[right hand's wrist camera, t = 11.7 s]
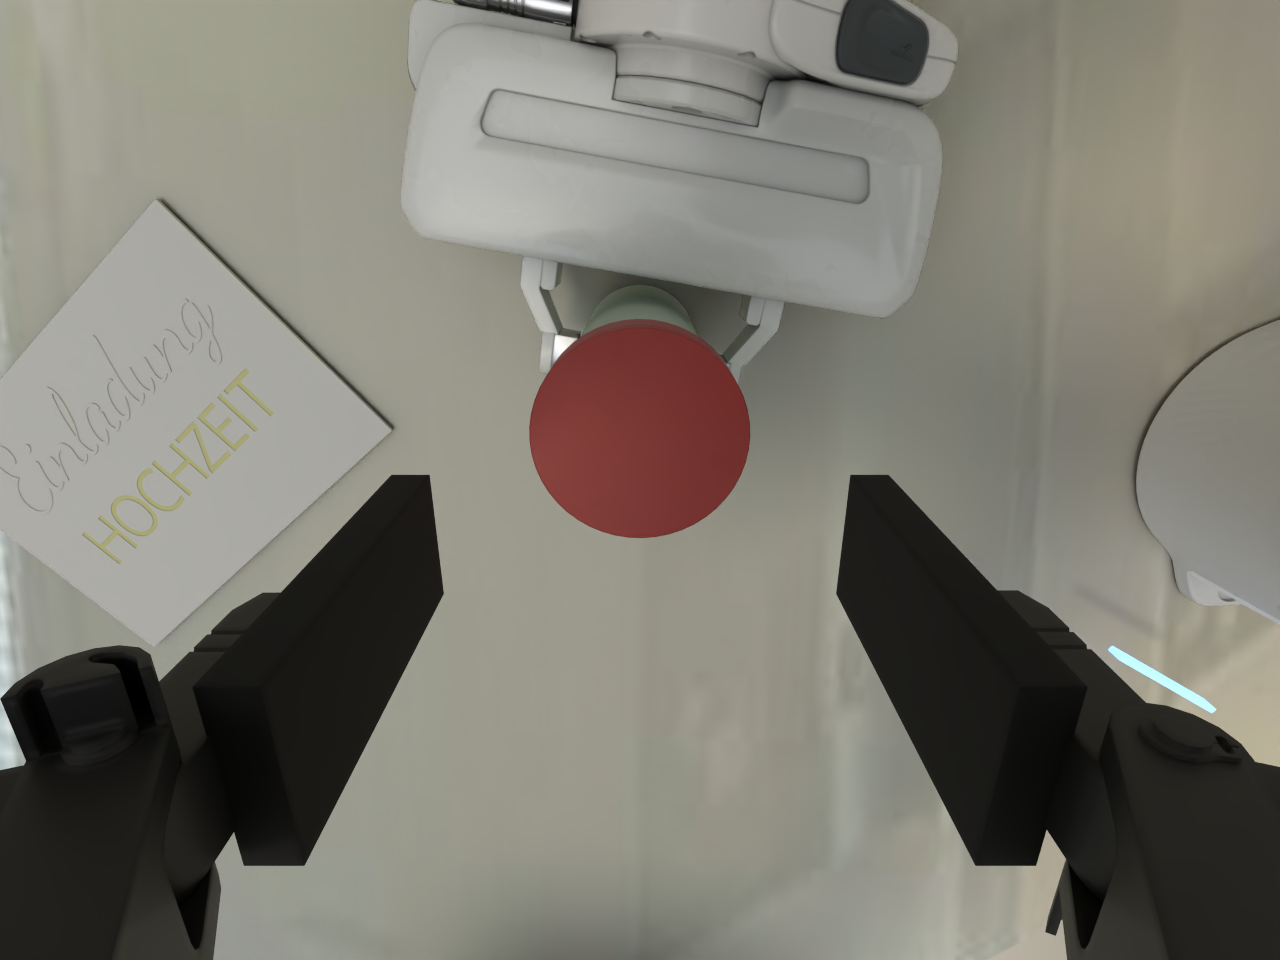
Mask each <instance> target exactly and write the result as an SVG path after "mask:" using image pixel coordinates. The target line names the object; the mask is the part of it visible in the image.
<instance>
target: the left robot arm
mask: <svg viewBox="0 0 1280 960" xmlns="http://www.w3.org/2000/svg"><path fill="white" fill-rule="evenodd" d="M453 2H454V3H456V4H458V5H456V4H451V3H446V2H441V1H436V0H416V2H415V3H414V5H413V7H412V10H411V14H410V19H409V35H408V60H407V64H408V72H409V77H410V80H411V83H412V85H413V87H414V89H415V95H414V100H413V105H412V110H411V115H410V120H409V126H408V132H407V138H406V145H405V152H404V160H403V168H402V179H401V191H400V205H401V209H402V212H403V214H404V215H405V217H406V218H407V220H408V222H409V223H410V225H411V226H412V228H413V229H414V231H415V232H416V234H417V235H418V236H419V237H421V238H424V239H429V240H434V241H440V242H446V243H452V244H457V245H463V246H469V247H474V248H480V249H486V250H492V251H497V252H503V253H509V254H515V255H520V256H523V261H522V271H521V281H520V287H521V289H522V291H523V294H524V296H525V298H526V301H527V303H528V305H529V308H530V310H531V312H532V315H533V317H534V319H535V321H536V324H537V326H538V328H539V331H541V332H543V334H542V343H541V352H540V361H539V372H540V373H545V374H548V372H549V371H550V369H551V367H552V366H553V364H554V362H555V361H556V360H557V359H558V357H559V356H560V355H561V354H562V352H563V351H564V350H566V349H567V348H568V347H569V346H570V345H571V344H572V343H573V342H574V341H576V340H577V339H579V338H580V335H581V331H575V330H570V329H565V328H563V326H562V324H561V321H560V319H559V316H558V313H557V311H556V308H555V306H554V303H553V301H552V298H551V295H550V293H549V290H553V289H554V288H555V287H556V286H558V285H559V284H560V281H561V274H562V266H563V263H566V264H572V265H578V266H583V267H589V268H595V269H600V270H606V271H612V272H618V273H623V274H629V275H635V276H641V277H646V278H652V279H658V280H663V281H669V282H675V283H681V284H686V285H692V286H698V287H704V288H709V289H715V290H721V291H726V292H732V293H738V294H743V298H742V303H741V308H740V313H739V314H740V316H741V317H742V318H743V319H744V321H745V322H746V323H747V324H748V325H747V326H746V327H745V328H744V329H743V331H742V332H741V333H740V334H739V335H738V337H737V338H736V339H735V340H734V341H733V343H732V344H731V345H730V346H729V347H728V348H727V350H726V351H725V352H724V353H723V355H719V356H720V357H721V358H722V359H723V360H724V362H725V363H726V365H727V366H728V368H729V369H730V371H731V373H732V375H733V376H734V378H735V380H736V382H737V384H738V383H739V379H740V374H741V370H742V366H746V365H747V364H748V363H749V361H750V360H751V359H752V358H753V357H754V356H755V355H756V354H757V353H758V352H759V351H760V349H761V348H762V347H763V346H764V345H765V344H766V343H767V342H768V341H769V340H770V339H771V337H772V336H773V335H774V334H775V333H776V332H777V331H778V328H779V324H780V320H781V316H782V312H783V308H784V304H785V302H789V303H795V304H801V305H807V306H812V307H818V308H824V309H829V310H835V311H841V312H847V313H852V314H858V315H864V316H870V317H876V318H887V317H889V316H890V315H892V314H893V313H894V312H895V311H897V310H898V309H899V308H900V307H901V306H902V305H904V304H905V303H906V302H907V301H908V300H909V299H910V298H911V297H912V295H913V293H914V291H915V289H916V286H917V283H918V280H919V277H920V274H921V270H922V267H923V263H924V260H925V256H926V252H927V248H928V244H929V240H930V235H931V231H932V226H933V221H934V216H935V212H936V206H937V200H938V194H939V188H940V182H941V175H942V164H943V153H942V143H941V139H940V135H939V132H938V130H937V127H936V125H935V123H934V122H933V121H932V119H931V118H930V117H929V116H928V114H926V113H925V112H924V111H923V110H922V109H920V108H919V107H921V106H923V105H925V104H927V103H929V102H930V101H932V100H933V99H935V98H936V97H938V96H939V95H940V94H942V92H943V91H944V90H945V89H946V87H947V85H948V83H949V81H950V79H951V76H952V74H953V71H954V68H955V63H956V61H957V56H958V41H957V38H956V36H955V35H954V33H953V32H952V31H951V30H950V29H949V28H948V27H947V26H946V25H944V24H943V23H942V22H940V21H939V20H937V19H936V18H934V17H933V16H931V15H929V14H928V13H926V12H925V11H923V10H922V9H920V8H919V7H917V6H916V5H914V4H912V3H911V2H909V1H908V0H453ZM492 11H495V12H492ZM497 12H500V13H497ZM501 12H503V13H506V14H503V13H501ZM509 13H510V14H511V15H508V14H509ZM573 25H574V26H575V33H574V31H573ZM573 34H574V41H573ZM1136 493H1137V500H1138V504H1139V508H1140V511H1141V514H1142V517H1143V519H1144V521H1145V523H1146V525H1147V527H1148V529H1149V530H1150V532H1151V533H1152V534H1153V536H1154V537H1155V538H1156V539H1157V540H1158V541H1159V543H1160V544H1161V545H1162V546H1163V547H1164V548H1165V549H1166V551H1167V552H1168V553H1169V555H1170V557H1171V558H1172V561H1173V568H1174V574H1175V579H1176V583H1177V586H1178V589H1179V591H1180V593H1181V594H1182V595H1183V596H1184V597H1186V598H1188V599H1190V600H1192V601H1194V602H1195V603H1197V604H1200V605H1204V606H1225V605H1245V606H1247V607H1249V608H1250V609H1252V610H1254V611H1256V612H1257V613H1259V614H1261V615H1263V616H1264V617H1266V618H1268V619H1270V620H1272V621H1273V622H1275V623H1277V624H1279V625H1280V319H1279V320H1277V321H1274V322H1272V323H1269V324H1267V325H1264V326H1262V327H1259V328H1257V329H1254V330H1252V331H1250V332H1248V333H1246V334H1244V335H1242V336H1240V337H1238V338H1236V339H1234V340H1233V341H1231V342H1229V343H1227V344H1226V345H1224V346H1223V347H1221V348H1220V349H1218V350H1217V351H1215V352H1214V353H1212V354H1211V355H1210V356H1209V357H1207V358H1206V359H1205V360H1203V361H1202V362H1201V363H1200V364H1199V365H1198V366H1196V367H1195V368H1194V369H1193V370H1192V371H1191V372H1190V373H1189V374H1188V375H1187V376H1186V377H1185V378H1184V379H1183V380H1182V381H1181V382H1180V383H1179V384H1178V386H1177V387H1176V388H1175V389H1174V390H1173V392H1172V393H1171V394H1170V395H1169V397H1168V398H1167V399H1166V401H1165V402H1164V404H1163V405H1162V407H1161V408H1160V410H1159V411H1158V413H1157V415H1156V416H1155V418H1154V420H1153V422H1152V424H1151V426H1150V428H1149V430H1148V432H1147V435H1146V437H1145V439H1144V442H1143V445H1142V448H1141V452H1140V456H1139V460H1138V465H1137V473H1136ZM1108 650H1109V651H1110V652H1111V653H1112V654H1113V655H1114V656H1115V657H1116V658H1117V659H1119V660H1120V661H1122V662H1124V663H1125V664H1127V665H1129V666H1130V667H1132V668H1134V669H1136V670H1137V671H1139V672H1141V673H1143V674H1144V675H1146V676H1148V677H1150V678H1151V679H1153V680H1155V681H1157V682H1158V683H1160V684H1162V685H1164V686H1165V687H1167V688H1169V689H1171V690H1172V691H1174V692H1176V693H1178V694H1179V695H1181V696H1183V697H1185V698H1186V699H1188V700H1190V701H1191V702H1193V703H1195V704H1197V705H1198V706H1200V707H1202V708H1204V709H1205V710H1207V711H1209V712H1211V713H1213V712H1214V711H1215V710H1216V709H1215V708H1214V707H1213V706H1212V705H1211V704H1210V703H1208V702H1207V701H1206V700H1205V699H1204V698H1202V697H1200V696H1199V695H1197V694H1195V693H1193V692H1192V691H1190V690H1188V689H1186V688H1185V687H1183V686H1181V685H1180V684H1178V683H1176V682H1174V681H1173V680H1171V679H1169V678H1167V677H1166V676H1164V675H1162V674H1160V673H1159V672H1157V671H1155V670H1154V669H1152V668H1150V667H1148V666H1147V665H1145V664H1143V663H1141V662H1140V661H1138V660H1136V659H1134V658H1133V657H1131V656H1129V655H1128V654H1126V653H1124V652H1122V651H1121V650H1119V649H1117V648H1115V647H1114V646H1111V647H1110V648H1109V649H1108Z"/></svg>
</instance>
